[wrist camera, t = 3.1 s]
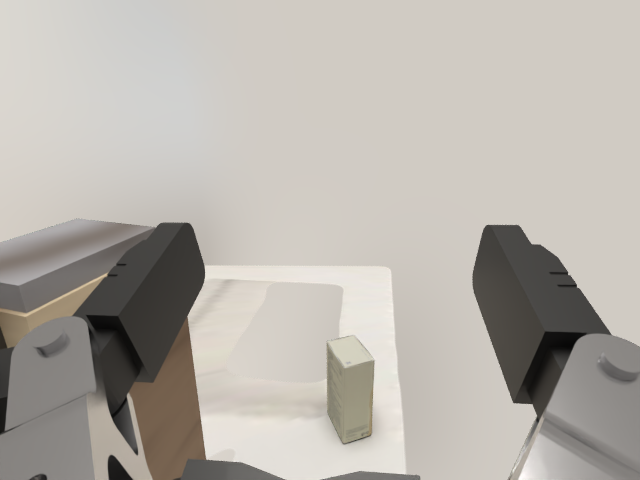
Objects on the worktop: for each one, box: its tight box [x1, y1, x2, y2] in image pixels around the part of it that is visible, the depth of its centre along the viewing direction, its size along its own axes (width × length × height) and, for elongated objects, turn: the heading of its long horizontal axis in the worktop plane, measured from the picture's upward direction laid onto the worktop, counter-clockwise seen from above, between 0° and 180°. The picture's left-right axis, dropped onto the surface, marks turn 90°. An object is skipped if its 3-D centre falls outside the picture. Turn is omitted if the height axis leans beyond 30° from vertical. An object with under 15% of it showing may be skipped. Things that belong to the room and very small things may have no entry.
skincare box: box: [327, 335, 374, 443], centre depth 50 cm, size 6×4×12 cm
